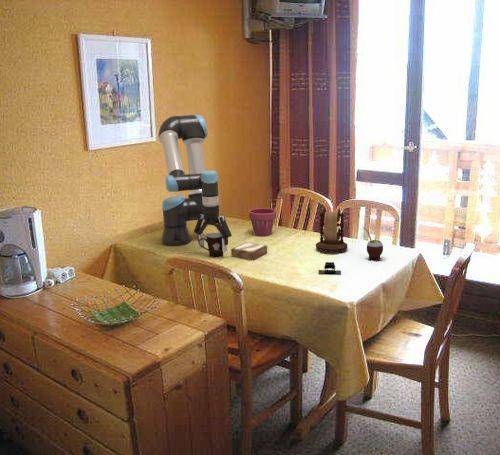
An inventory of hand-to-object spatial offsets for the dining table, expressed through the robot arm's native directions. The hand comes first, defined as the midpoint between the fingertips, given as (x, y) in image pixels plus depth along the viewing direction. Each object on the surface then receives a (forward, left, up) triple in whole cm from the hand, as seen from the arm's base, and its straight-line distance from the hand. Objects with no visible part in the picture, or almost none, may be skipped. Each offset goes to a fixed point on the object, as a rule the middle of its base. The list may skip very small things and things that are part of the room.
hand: (213, 249), depth 236 cm
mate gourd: (+67, +29, -3) cm, 73 cm away
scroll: (+45, +33, -3) cm, 56 cm away
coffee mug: (0, 0, -3) cm, 3 cm away
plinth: (+15, +8, -3) cm, 17 cm away
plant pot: (+1, +42, -3) cm, 42 cm away
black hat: (+57, +4, -4) cm, 57 cm away
